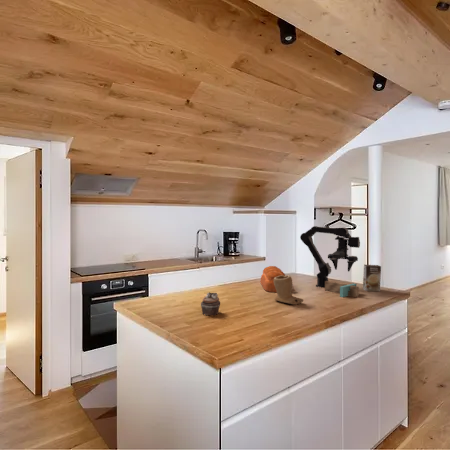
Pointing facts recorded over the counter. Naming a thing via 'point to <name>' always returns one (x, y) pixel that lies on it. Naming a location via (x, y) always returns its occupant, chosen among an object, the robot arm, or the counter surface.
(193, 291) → the counter surface
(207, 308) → the cupcake
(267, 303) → the counter surface
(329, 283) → the rail
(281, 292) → the brown hollow boot-shaped piece
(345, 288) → the crossbar
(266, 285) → the bread
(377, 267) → the coffee box
